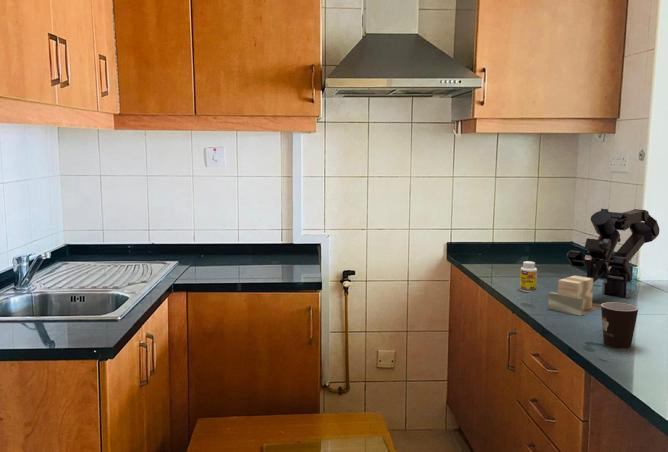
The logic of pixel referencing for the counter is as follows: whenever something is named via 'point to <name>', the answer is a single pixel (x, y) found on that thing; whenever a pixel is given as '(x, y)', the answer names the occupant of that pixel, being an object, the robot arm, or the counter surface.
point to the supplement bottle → (528, 277)
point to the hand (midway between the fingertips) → (588, 283)
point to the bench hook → (569, 304)
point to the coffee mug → (618, 324)
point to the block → (577, 288)
